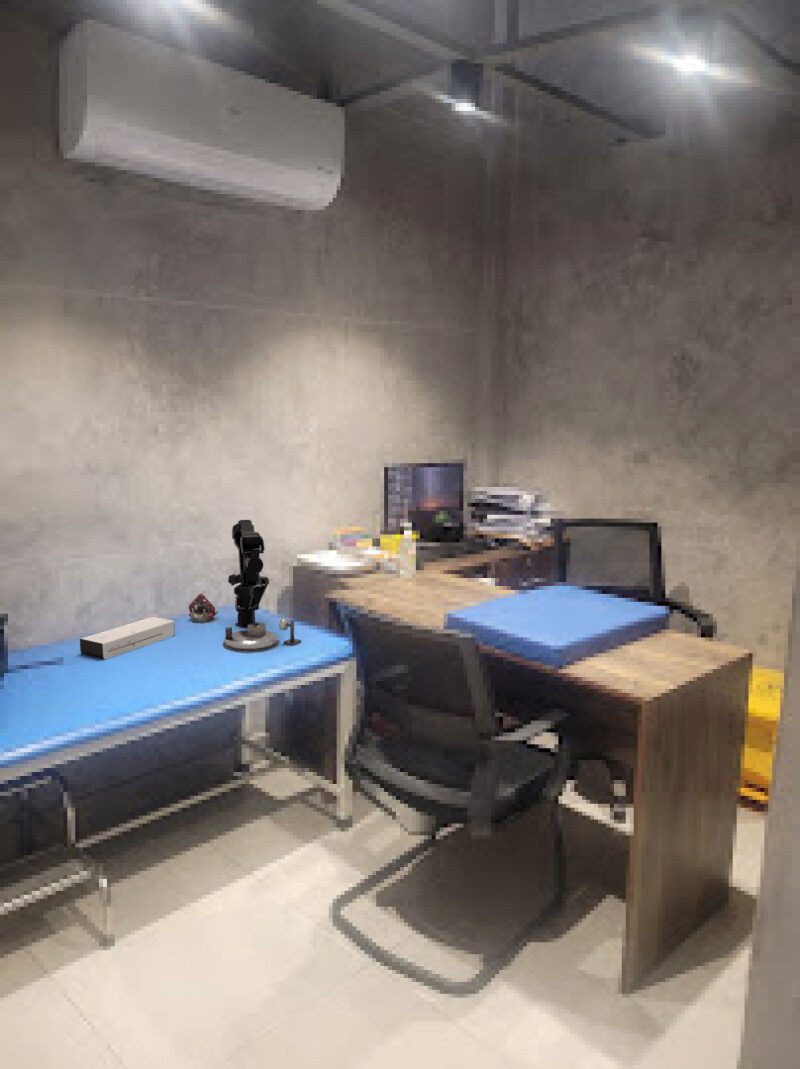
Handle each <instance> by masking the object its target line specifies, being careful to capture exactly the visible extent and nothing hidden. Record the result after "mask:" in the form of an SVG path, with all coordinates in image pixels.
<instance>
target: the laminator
mask: <svg viewBox="0 0 800 1069" xmlns="http://www.w3.org/2000/svg"><path fill="white" fill-rule="evenodd" d="M175 625H176V624H175V620H173V619H168V618H162V617H159V616H151V617H147V618H144V619H141V620H138V621H134V622H131V623H128V624H124V625H121V626H118V627H115V628H111V629H107V630H104V631H102V632H99V633H95V634H92V635H89V636H85V637H81V638H79V647H80V648H79V650H80V654H81V655H84V654H85V656H89V657H93V658H97V659H101V660H107V659H110V658H114V657H115V656H119V655H121V654H124V653H128V652H131V651H133V650H137V649H140V648H143V647H145V646H148V645H151V644H154V643H157V642H160V641H163V640H166V639H168V637H169V638H171V636H172V637H174V636H175V633H176V632H175V631H176V630H175V627H176V626H175ZM165 638H166V639H165ZM162 639H163V640H162Z"/></svg>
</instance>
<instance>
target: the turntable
mask: <svg viewBox="0 0 800 1069" xmlns="http://www.w3.org/2000/svg"><path fill="white" fill-rule="evenodd" d="M224 632H225V633H224V634H225V637H224V642H225V645H226V646H227V647H228V648H231V649H235V650H245V651H251V650H261V649H266V648H270V647H272V646H274V645H276V644H277V639H278V635H277V634H276V633H275V632H272V631H270V630H266V635H264V636H260V637H252V636H249V635H248V629H245V630H239V631H234V632H233V627H231V626H226V627H225V630H224Z"/></svg>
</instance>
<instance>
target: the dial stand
mask: <svg viewBox="0 0 800 1069" xmlns="http://www.w3.org/2000/svg"><path fill="white" fill-rule="evenodd" d="M278 628H279V630H281V631H287V630H288V629H289V628H290V630H289V634H290V635H289V637H290V638H289V639H287V640H283V645H286V646H292V647H293V646H295V645H299V644H301V643H302V640H301V639H298V638H295V621H294V619H293V620H290V621H289V620H288V619H285V618H282V619H280V621H279V623H278Z"/></svg>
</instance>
